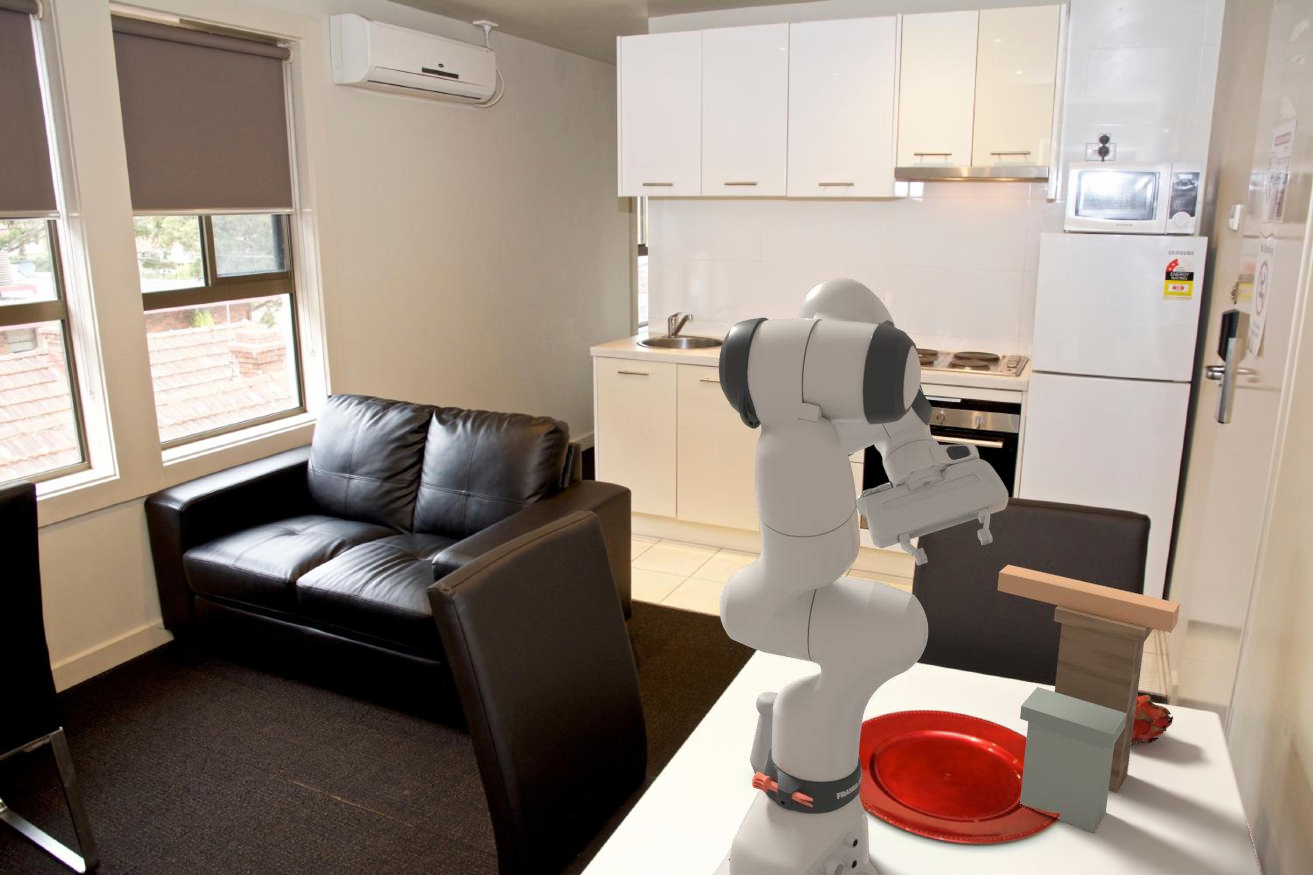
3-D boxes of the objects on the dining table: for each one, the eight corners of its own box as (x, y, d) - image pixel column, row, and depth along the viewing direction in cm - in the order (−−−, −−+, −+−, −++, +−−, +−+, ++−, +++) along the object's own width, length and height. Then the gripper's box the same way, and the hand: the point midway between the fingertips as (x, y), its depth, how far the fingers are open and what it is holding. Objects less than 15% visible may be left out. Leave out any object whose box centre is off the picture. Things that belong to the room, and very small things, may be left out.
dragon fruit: (1086, 740, 155) (1160, 754, 155) (1109, 736, 148) (1188, 750, 147) (1086, 688, 159) (1158, 700, 158) (1109, 680, 151) (1186, 694, 150)
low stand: (1100, 837, 129) (1113, 734, 125) (1011, 803, 136) (1021, 705, 133) (1114, 812, 134) (1126, 713, 131) (1027, 781, 142) (1037, 686, 138)
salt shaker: (787, 764, 146) (790, 687, 143) (789, 786, 140) (792, 706, 137) (749, 762, 146) (751, 685, 143) (749, 784, 141) (751, 704, 138)
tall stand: (1123, 796, 138) (1144, 630, 132) (1038, 766, 145) (1055, 608, 139) (1135, 774, 143) (1156, 614, 137) (1052, 747, 151) (1069, 593, 145)
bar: (1171, 632, 131) (1173, 612, 131) (997, 590, 146) (999, 571, 145) (1177, 623, 134) (1179, 603, 134) (1006, 582, 149) (1008, 564, 148)
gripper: (850, 484, 141) (882, 565, 133) (985, 440, 139) (1026, 520, 131) (854, 504, 146) (885, 583, 138) (984, 462, 144) (1023, 540, 136)
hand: (955, 552), depth 134 cm, fingers open, 8 cm apart
